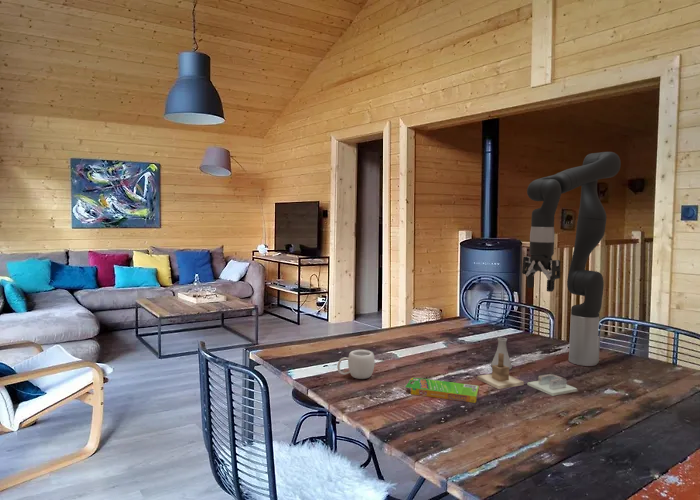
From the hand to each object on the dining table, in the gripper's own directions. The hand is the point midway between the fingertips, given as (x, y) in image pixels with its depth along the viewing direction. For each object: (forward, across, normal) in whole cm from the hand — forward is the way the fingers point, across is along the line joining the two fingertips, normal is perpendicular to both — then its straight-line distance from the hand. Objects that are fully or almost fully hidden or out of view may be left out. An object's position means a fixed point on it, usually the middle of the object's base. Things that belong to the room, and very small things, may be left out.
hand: (539, 289), depth 168 cm
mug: (+28, +19, +58) cm, 67 cm away
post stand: (+28, -3, +18) cm, 33 cm away
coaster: (+28, -14, +7) cm, 32 cm away
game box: (+29, -4, +40) cm, 50 cm away
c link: (+27, -14, +7) cm, 31 cm away
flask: (+28, +9, +7) cm, 31 cm away
